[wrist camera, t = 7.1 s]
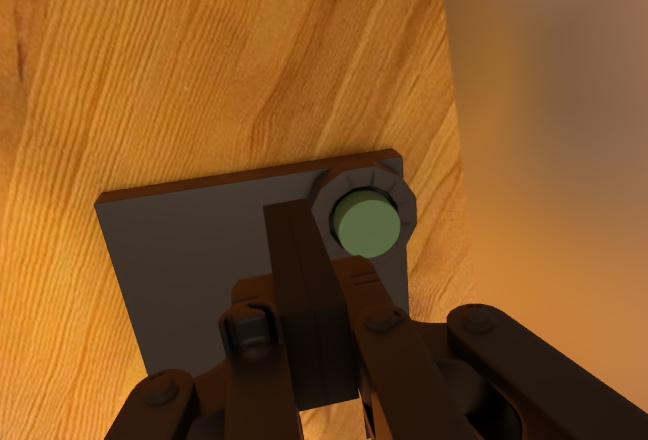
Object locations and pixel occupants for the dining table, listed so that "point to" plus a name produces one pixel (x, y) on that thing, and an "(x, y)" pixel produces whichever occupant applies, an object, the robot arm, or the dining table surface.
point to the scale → (230, 245)
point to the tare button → (366, 223)
